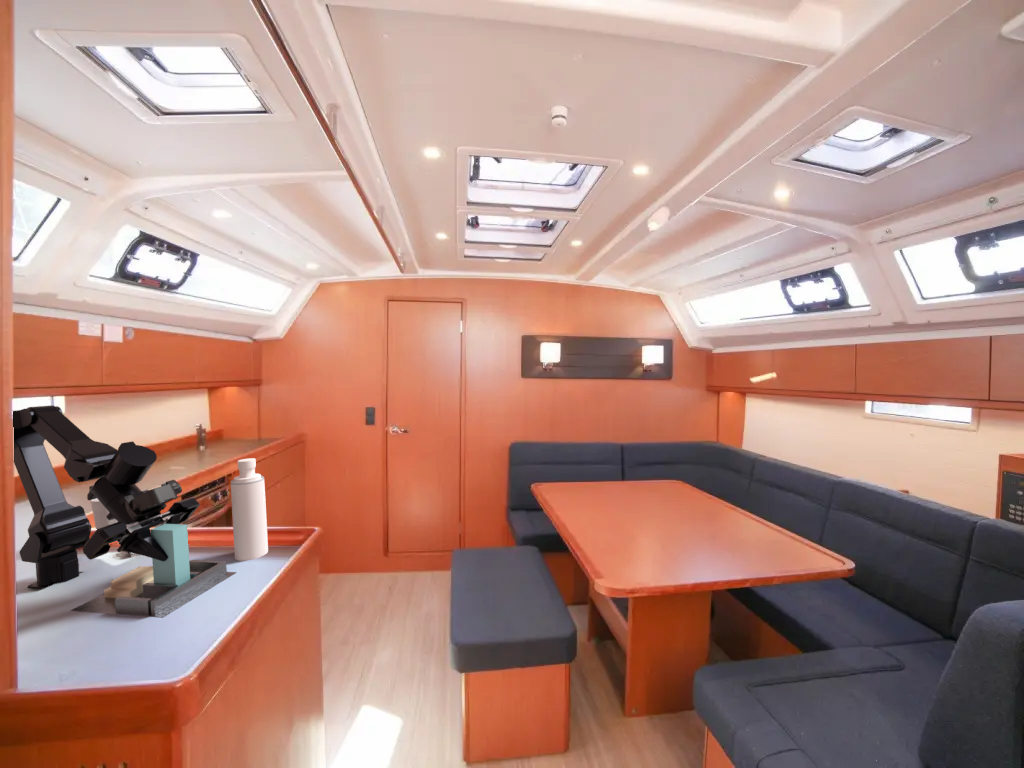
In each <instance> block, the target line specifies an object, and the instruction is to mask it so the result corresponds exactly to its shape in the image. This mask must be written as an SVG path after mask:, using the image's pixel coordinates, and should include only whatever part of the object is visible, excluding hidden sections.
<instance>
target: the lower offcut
mask: <svg viewBox="0 0 1024 768" xmlns="http://www.w3.org/2000/svg"><path fill="white" fill-rule="evenodd" d="M147 583H154V579H152V580H150V581H149V582H147ZM103 591H104V593H103V594H105V597H107V598H118V597H136V596H138V595H139V594H141V593H143V585H142V586H140V587H138V588H136V589H111V586H109V587H107V588H105V589H104V590H103Z"/></svg>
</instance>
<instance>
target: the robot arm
mask: <svg viewBox="0 0 1024 768" xmlns="http://www.w3.org/2000/svg"><path fill="white" fill-rule="evenodd" d="M62 410H63V409H61V407H59V406H57V405H56V406H55V405H52V404H51V405H40V406H39V405H38V406H28V407H26V408H23V409H19V410H12V411H13V427H14V461H13V463H14V466H15V469H16V471H17V473H18V477H19V479H20V481H21V484H22V486H23V489H24V491H25V494H26V497H27V499H28V502H29V505H30V507H31V509H32V512H33V518H32V519H31V521H30V523H29V526H28V528H27V533H28V536H29V537H28V538H27V539H26V541H25V542H24V544H23V545H22V547H21V549H20V550H19V556H20V559H21V561H22V562H24V563H32V564H35V573H36V582H33V583H31V584H29V585H27V589H36V590H45V589H46V588H49V587H52V586H54V585H57V584H61V583H66V582H68V581H71V580H74V579H75V578H78V577H80V574H82V573H84V571H80V564H79V558H78V549H82V552H83V554H84V555H85V557H86V558H87V559H89V560H90V561H92V560H94V559H96V558H99V557H101V556H104V555H106V554H108V553H109V552H110V549H111V547H112V545H109V543H112V542H115V541H118V542H119V543H118V545H120V546H119V547H118V548H117V549H116V551H117V553H122V552H127V553H128V552H130V553H132V554H134V553H135V554H140V555H139V556H143V557H144V556H145V557H147V558H151V559H152V558H153V559H157V560H160V561H166V560H167V559H168V556H167V554H166V553H165V551H164V550H163V549H162V547H161V546H160V545H159V544H158V543H157V542H156V541H155V539H154V538H153V537H152V536H151V528H156V527H159V526H161V525H164V524H185V522H187V521H188V520H189V519H190V517H191V516H192V515H193V514H194V513H195V512H196V510H197V509H198V508H199V507H200V506H201V504H200V503H199V502H198V500H197V499H196V498H195V497H188V498H184V499H182V500H179V501H176V502H174V503H173V504H171V506H170V507H169V508H168V509H167V511H165V512H163V513H162V510H163V511H164V510H165V508H166V507H167V506H168V505H167V504H166V503H168V502H171V501H172V500H176V499H178V495H179V494H181V493H182V491H183V488H182V486H181V484H180V483H179V482H178V481H177V480H175V479H171V480H167V481H165V483H162V484H160V486H157V487H154V488H151V489H149V490H148V489H146V490H141V488H139V486H138V485H137V484H139V483H140V482H141V481H142V480H143V479H144V478H145V476H146V474H147V473H148V472H149V471H150V469H151V468H152V466H153V465H154V463H155V462H156V461H157V458H158V457H157V453H156V452H155V450H154V449H151V448H149V447H147V446H144V445H138V444H136V443H135V442H134V441H127V442H126V441H125V442H121V444H120V445H119V447H118V448H117V449H116V448H115V447H114V446H112V445H110V444H108V443H104V442H101V441H97V440H96V441H95V440H94V439H92V438H90V437H89V436H88V435H87V434H86V433H84V431H83V430H81V429H80V428H79V427H78V426H77V425H75V423H73V421H71V420H70V419H69V418H68V417H67V416H66V415H64V414H63V411H62ZM45 441H46V442H47V443H48V444H50V445H51V447H53V448H54V449H55V450H56V451H58V453H60V455H61V456H62V457H63V458H64V459H65V460H64V465H63V468H64V470H65V472H67V475H68V476H69V477H70V478H72V480H73V481H75V482H76V483H84V482H88V481H94V480H96V481H95V482H94V483H93V485H91V486H89V491H88V493H87V496H86V498H87V501H91V500H93V499H96V498H97V499H98V500H99V501H100V502H101V503H102V504H103V506H104V507H105V508H106V509H107V510H108V511H109V512H110V513H109V514H108V515H107V516H106V517H107V519H108V520H109V521H110V520H113V519H116V520H117V521H118V522H117V523H114V524H111V525H108V526H105V527H102V528H99V529H97V530H96V529H95V530H94V532H93V534H92V535H91V532H92V524H91V522H90V519H88V516H87V515H86V512H85V509H84V507H82V506H81V505H76V506H73V505H72V504H70V503H68V502H67V499H66V497H65V494H64V492H63V490H62V488H61V487H62V486H61V484H60V482H59V480H58V477H57V475H56V472H55V469H54V467H53V465H52V462H51V459H50V457H49V454H48V453H47V449H46V447H45V444H44V442H45ZM130 553H129V554H130Z"/></svg>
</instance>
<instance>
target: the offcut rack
mask: <svg viewBox="0 0 1024 768" xmlns="http://www.w3.org/2000/svg"><path fill="white" fill-rule="evenodd" d="M189 565H190V580H188V581H186V582H185V583H183V584H181V585H179V586H178V585H176V584H159V583H145V584H143V593H141V594H139V595H138V596H136V597H118V598H107V597H105V594H104V593H103V594H102V595H100V596H97V597H95V598H93V599H91V600H89V601H87V602H85V603H82V604H80V605H79V606H76V607H75V608H73V609H70V610H69V611H70V612H79V613H80V612H83V613H92V614H93V613H95V614H97V613H98V614H109V615H124V616H137V617H150V618H151V617H152V618H165V617H167V616H168V615H170V614H171V613H173V612H175V611H176V610H178V609H180V608H181V607H183V606H184V605H186V604H188V603H189V602H191V601H193V600H194V599H196V598H198V597H199V596H202V595H203V594H204V593H206V592H208V591H209V590H211V589H213V588H214V587H215V586H217V585H219V584H220V583H222V582H224V581H225V580H227V579H229V578H230V577H232V576H233V575H236V574H238V573H237V571H228V570H227V561H226V560H223V561H221V560H207V559H205V560H204V559H191V560H189Z"/></svg>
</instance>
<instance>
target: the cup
mask: <svg viewBox="0 0 1024 768" xmlns="http://www.w3.org/2000/svg"><path fill="white" fill-rule="evenodd" d="M90 505H91V511H92V516H93V521H94V525H95V526H94V527H95V530H96V529H99V528H102V527H105V526H108V525H111V524H114V523H117V522H118V521H117V520H116V519H113V520H110V521H109V520H108V519H107V517H106V516H107V515H108V514H109V513H110V512H109V511H108V510H107V509H106V508H105V507H104V506H103V504H102V503H101V502H100V501H99V500H98V499H97V498H96V499H93V500H90Z"/></svg>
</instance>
